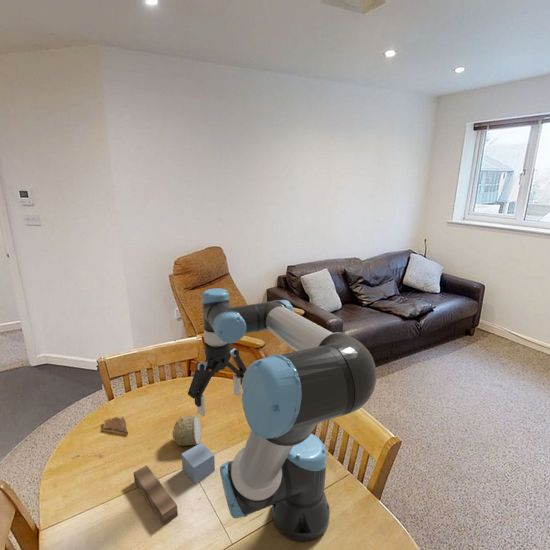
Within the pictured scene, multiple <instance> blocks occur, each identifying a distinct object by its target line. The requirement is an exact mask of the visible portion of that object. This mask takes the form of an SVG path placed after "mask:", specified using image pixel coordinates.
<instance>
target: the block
mask: <svg viewBox="0 0 550 550" xmlns="http://www.w3.org/2000/svg"><path fill="white" fill-rule="evenodd" d="M215 465H216V462H215V454H214V453H213V452H212V451H211V450H210V449H209V448H208V447H207V446H206V445H205V444H204V443H203V442H200V443H199V444H198V445H195V446H194V445H193V447H191V448H189V449H187V450H186V451H183V452H182V453H181V466H182V467H181V469H182V471H183V472H184V473H185V474H186V476H187V477H188V478H189V479H190V481H192V483H193V484H194V485H196V484H197V483H198V482H200V481H202V480H203V479H205V478H206V477H207V476H209V475H211V474H212V473H214V472H216V467H215Z"/></svg>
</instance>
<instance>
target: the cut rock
mask: <svg viewBox="0 0 550 550" xmlns="http://www.w3.org/2000/svg"><path fill="white" fill-rule="evenodd" d="M201 432H202V429H201V423H200V419H199V416H198V415H196V414H191V415H186V416H185V415H184V416H182V417H180V418H178V419H177V420H176V421H175V425H173V429H172V438H173V439H174V441H175V443H176V445H178V446H192V445H193V446H194V445H195V446H196V445H198V444H200V443H201V442H200V441H201Z"/></svg>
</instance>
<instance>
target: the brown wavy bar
mask: <svg viewBox="0 0 550 550" xmlns="http://www.w3.org/2000/svg"><path fill="white" fill-rule="evenodd" d="M133 480H134V484H135V485H136V486H137V488H138V490H139V491H140V492H141V494H142V495H143V496H144V498H145V500H146V501H147V503H148V505H149V506H150V507H151V508H152V510H153V512H154V513H155V515H156V516H157V518H158V519H159V521H160V522H161V523H162V525H163V526H165V525H166V524H167V523H169V522H171V521H172V520H174V519H175V518H176V517H178V515H179V513H178V512H179V511H178V505H177V503H176V502H175V500H174V499H173V498H172V497H171V495H170V493H168V491H167V490H166V488H165V487H164V486H163V484H161V482H160V481H159V479H158V478H157V476H156V475H155V473H154V472H153V471H152V469H150V468H149V465H147V464H146V465H144V466H143V467H140V468H139V469H136V470H135V471H134V472H133Z"/></svg>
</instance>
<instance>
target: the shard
mask: <svg viewBox="0 0 550 550" xmlns="http://www.w3.org/2000/svg"><path fill="white" fill-rule="evenodd" d="M101 430H102V432H106V433H107V432H108V433H112V434H117V435H121V436H128V435H129V431H128V428H127V422H126V419H125V417H124V416H123V415H122V416H114V417H112V418H108V419H105V420H103V426H102V428H101Z"/></svg>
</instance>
